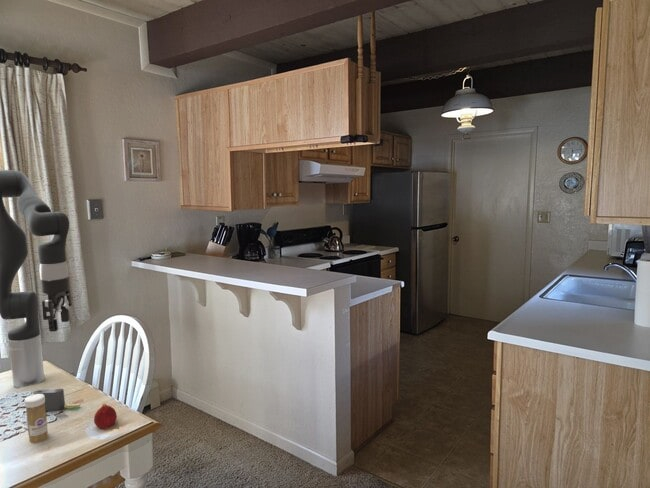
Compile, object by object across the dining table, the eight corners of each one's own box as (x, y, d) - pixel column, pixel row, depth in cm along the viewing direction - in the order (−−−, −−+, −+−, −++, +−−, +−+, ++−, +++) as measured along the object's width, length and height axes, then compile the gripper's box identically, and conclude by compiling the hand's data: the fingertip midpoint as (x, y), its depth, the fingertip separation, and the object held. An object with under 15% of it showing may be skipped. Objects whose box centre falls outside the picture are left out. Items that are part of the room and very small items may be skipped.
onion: (122, 425, 126) (120, 400, 125) (106, 436, 121) (104, 410, 120) (106, 422, 128) (104, 397, 127) (90, 433, 123) (88, 406, 122)
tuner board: (28, 411, 135) (27, 407, 135) (82, 397, 144) (82, 392, 144) (31, 434, 122) (31, 430, 122) (90, 417, 131) (90, 413, 131)
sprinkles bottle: (36, 449, 115) (31, 402, 114) (25, 445, 117) (20, 399, 115) (53, 440, 120) (48, 394, 118) (41, 436, 121) (36, 391, 119)
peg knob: (33, 412, 131) (31, 394, 131) (37, 408, 134) (35, 390, 133) (78, 409, 133) (76, 390, 132) (81, 405, 136) (80, 387, 135)
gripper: (52, 271, 140) (57, 319, 143) (29, 282, 126) (35, 335, 129) (76, 270, 141) (81, 318, 144) (57, 281, 127) (62, 333, 130)
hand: (59, 326), depth 136 cm, fingers open, 8 cm apart
